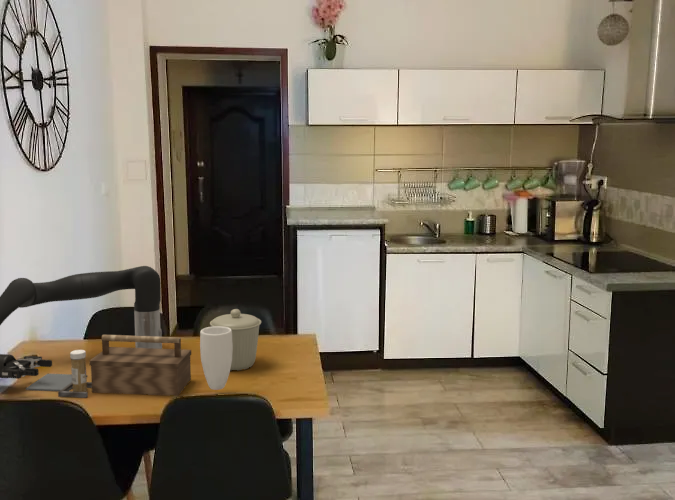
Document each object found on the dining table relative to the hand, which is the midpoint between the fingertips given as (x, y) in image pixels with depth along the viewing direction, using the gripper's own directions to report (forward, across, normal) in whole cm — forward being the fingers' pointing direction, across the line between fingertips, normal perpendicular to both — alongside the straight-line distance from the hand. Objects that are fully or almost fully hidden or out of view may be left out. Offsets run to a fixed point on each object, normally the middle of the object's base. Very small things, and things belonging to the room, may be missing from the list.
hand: (44, 367), depth 212 cm
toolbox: (+25, +5, +8) cm, 26 cm away
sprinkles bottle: (+11, 0, +8) cm, 14 cm away
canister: (+55, +30, +8) cm, 63 cm away
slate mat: (0, +7, +8) cm, 10 cm away
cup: (+55, +1, +8) cm, 56 cm away
